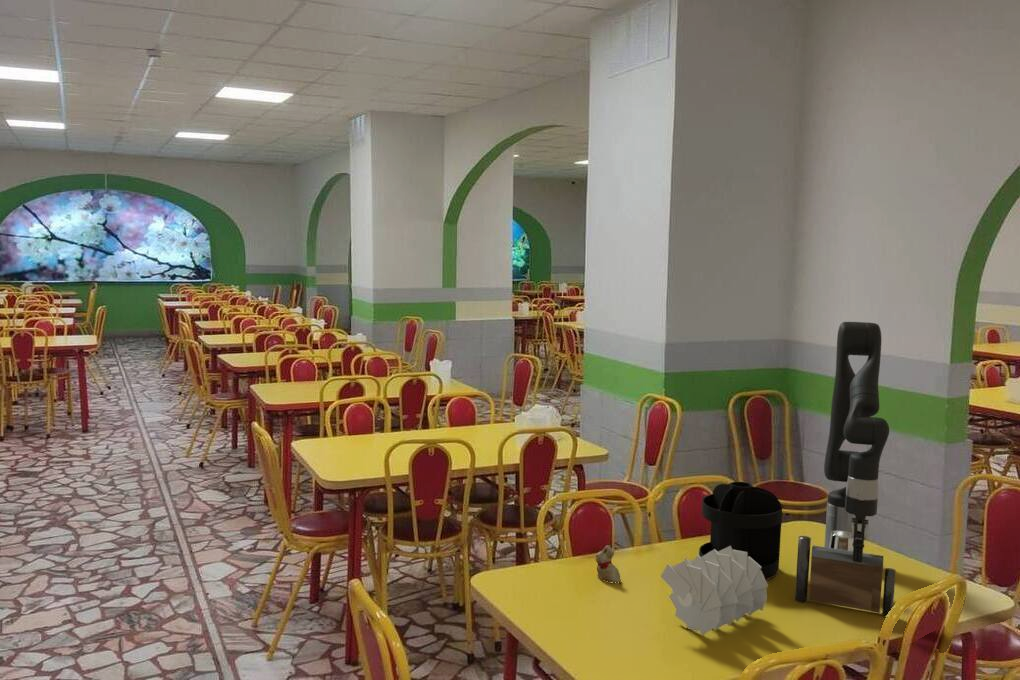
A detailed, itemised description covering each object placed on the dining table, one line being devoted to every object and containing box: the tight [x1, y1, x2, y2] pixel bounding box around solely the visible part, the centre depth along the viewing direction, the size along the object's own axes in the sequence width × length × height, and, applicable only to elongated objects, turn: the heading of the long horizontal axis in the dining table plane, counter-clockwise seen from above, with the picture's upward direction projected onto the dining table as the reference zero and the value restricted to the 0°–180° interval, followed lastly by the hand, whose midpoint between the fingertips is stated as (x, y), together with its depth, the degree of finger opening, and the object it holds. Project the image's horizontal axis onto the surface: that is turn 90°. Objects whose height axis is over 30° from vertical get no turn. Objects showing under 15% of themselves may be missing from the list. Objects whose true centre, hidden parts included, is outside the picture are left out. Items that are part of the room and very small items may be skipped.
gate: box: [808, 545, 884, 614], centre depth 219 cm, size 3×17×14 cm, turn 66°
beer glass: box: [829, 530, 853, 551], centre depth 234 cm, size 7×7×15 cm
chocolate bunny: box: [595, 544, 622, 584], centre depth 235 cm, size 6×8×10 cm
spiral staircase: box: [660, 546, 769, 636], centre depth 208 cm, size 18×18×25 cm
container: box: [698, 481, 783, 581], centre depth 245 cm, size 22×23×25 cm
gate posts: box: [794, 535, 897, 618], centre depth 219 cm, size 3×24×17 cm, turn 66°
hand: (857, 556), depth 218 cm, fingers open, 8 cm apart
